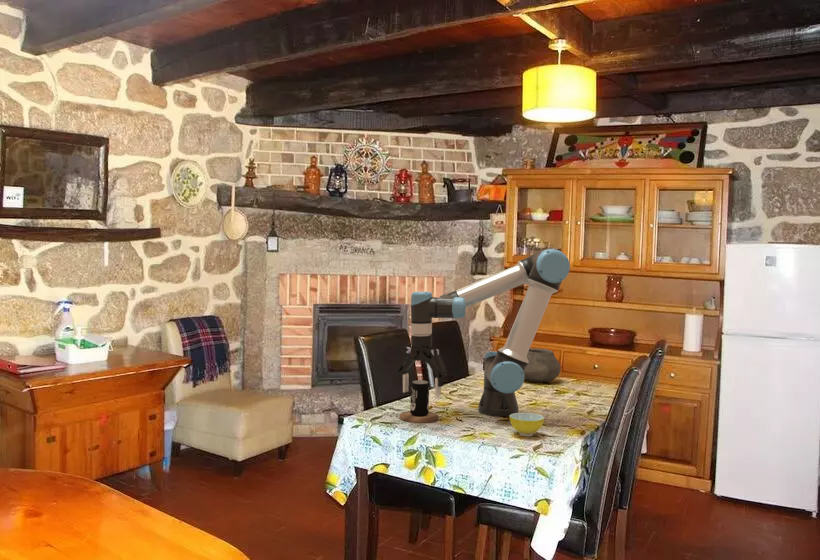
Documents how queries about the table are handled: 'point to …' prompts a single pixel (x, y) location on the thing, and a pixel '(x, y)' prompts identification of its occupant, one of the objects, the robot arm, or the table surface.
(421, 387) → the beverage can
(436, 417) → the disc
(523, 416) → the bowl
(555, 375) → the clay pot
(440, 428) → the table surface
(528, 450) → the table surface
